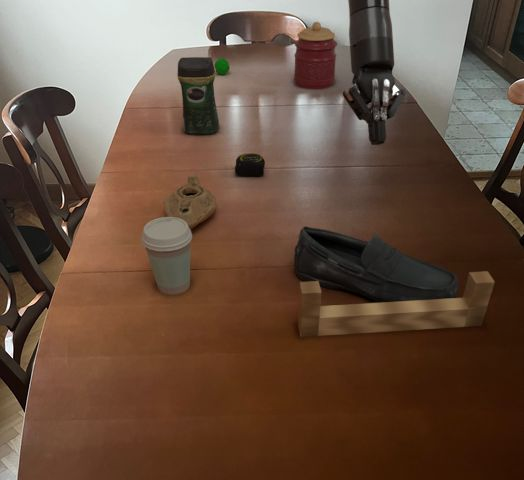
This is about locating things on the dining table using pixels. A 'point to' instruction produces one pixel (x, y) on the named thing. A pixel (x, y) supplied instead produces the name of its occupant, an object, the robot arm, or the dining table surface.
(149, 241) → the coffee cup
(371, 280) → the loafer
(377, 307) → the wooden u-shaped bracket
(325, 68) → the kitchen canister
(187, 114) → the coffee jar
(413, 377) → the dining table surface
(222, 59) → the polyhedron
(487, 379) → the dining table surface
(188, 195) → the oil lamp
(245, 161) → the tape measure
